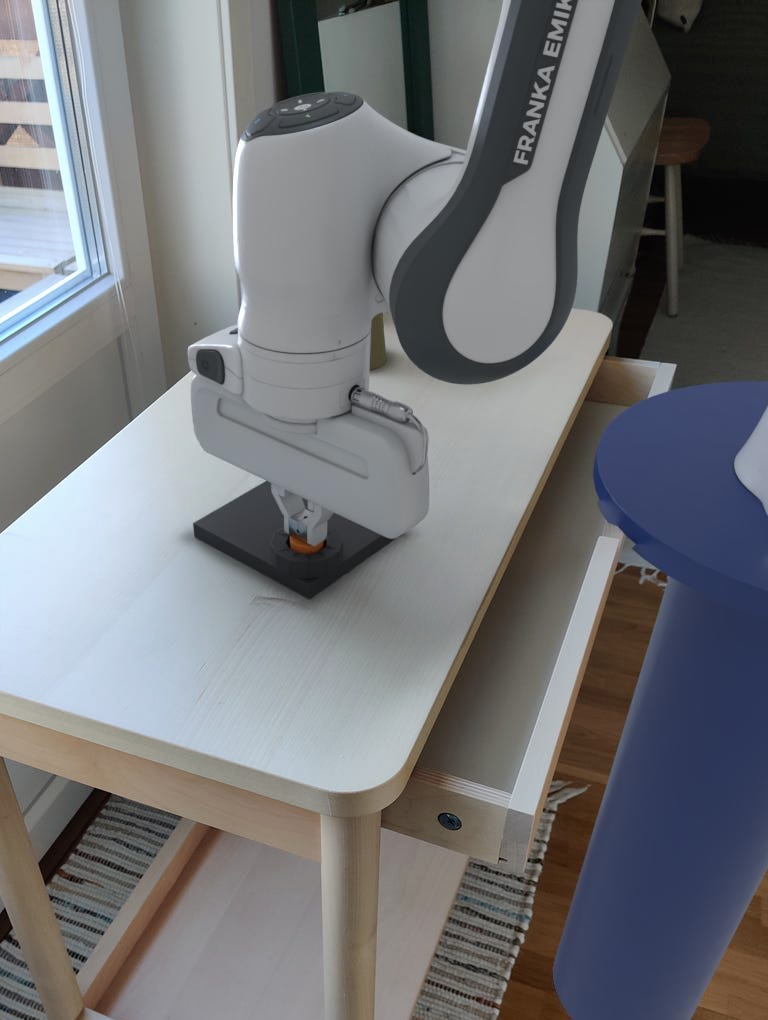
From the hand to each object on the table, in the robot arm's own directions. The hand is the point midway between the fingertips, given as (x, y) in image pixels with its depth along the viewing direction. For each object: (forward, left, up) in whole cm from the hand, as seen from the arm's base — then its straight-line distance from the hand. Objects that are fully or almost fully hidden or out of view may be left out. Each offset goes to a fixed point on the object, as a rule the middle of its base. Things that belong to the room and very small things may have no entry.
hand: (305, 536), depth 74 cm
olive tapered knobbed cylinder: (+22, -34, -4) cm, 40 cm away
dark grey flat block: (+4, -4, -4) cm, 6 cm away
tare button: (0, 0, -2) cm, 2 cm away
